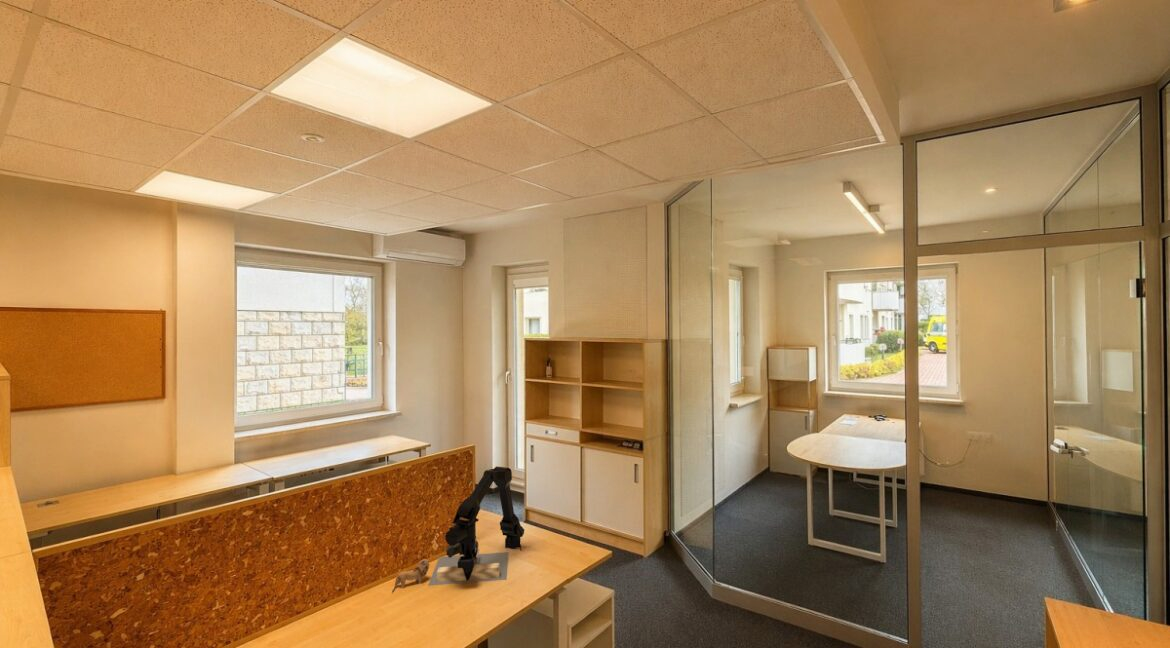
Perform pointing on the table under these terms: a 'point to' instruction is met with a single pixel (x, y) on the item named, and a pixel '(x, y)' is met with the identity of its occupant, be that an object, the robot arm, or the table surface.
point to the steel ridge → (477, 558)
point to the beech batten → (478, 573)
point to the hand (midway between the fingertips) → (468, 575)
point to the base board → (483, 559)
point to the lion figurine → (413, 574)
